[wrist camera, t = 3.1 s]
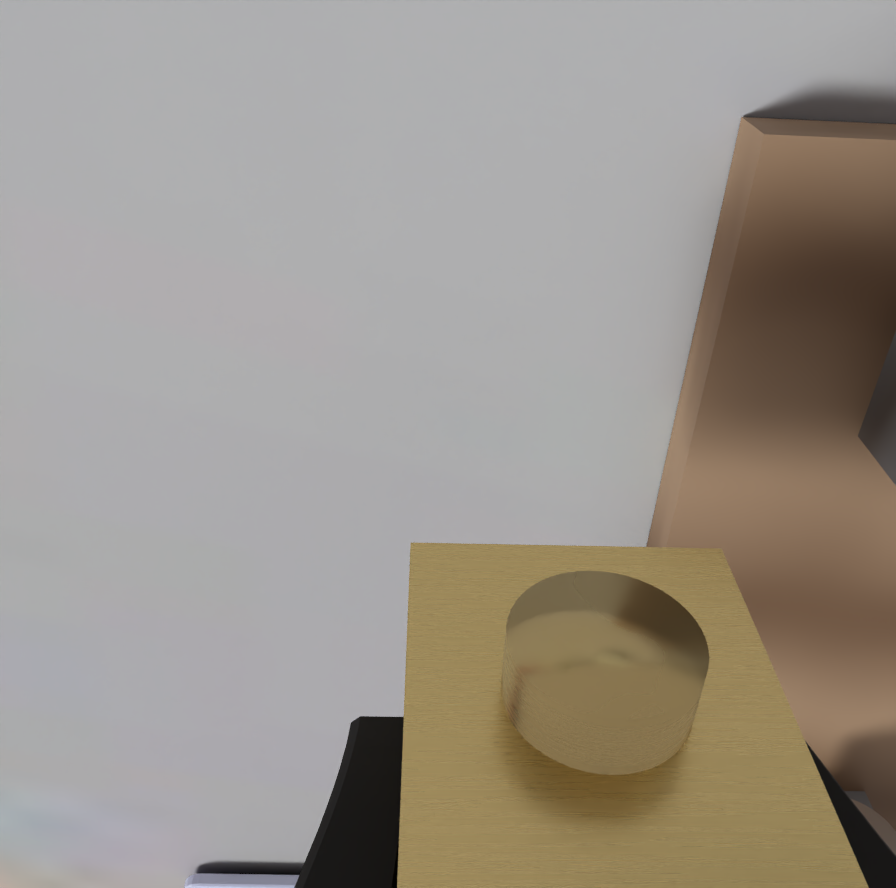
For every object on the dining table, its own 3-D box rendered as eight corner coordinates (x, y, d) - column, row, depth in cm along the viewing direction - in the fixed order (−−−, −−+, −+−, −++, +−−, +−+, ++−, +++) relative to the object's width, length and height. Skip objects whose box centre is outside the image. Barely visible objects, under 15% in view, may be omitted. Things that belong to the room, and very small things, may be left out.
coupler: (659, 782, 14) (758, 1179, 9) (407, 780, 14) (394, 1179, 9) (734, 498, 11) (929, 895, 6) (411, 492, 11) (393, 891, 6)
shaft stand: (895, 868, 27) (976, 1041, 23) (576, 862, 26) (601, 1037, 22) (1313, 143, 15) (1640, 238, 11) (740, 117, 15) (857, 205, 10)
